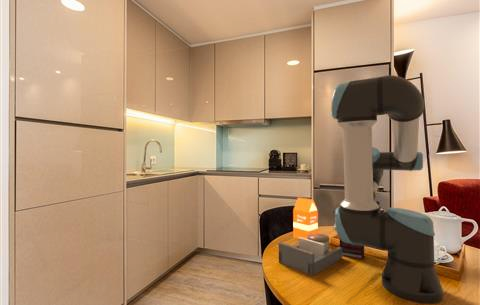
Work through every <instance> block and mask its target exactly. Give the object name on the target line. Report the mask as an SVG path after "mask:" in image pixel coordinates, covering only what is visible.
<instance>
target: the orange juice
mask: <svg viewBox="0 0 480 305" xmlns="http://www.w3.org/2000/svg"><path fill="white" fill-rule="evenodd" d="M292 214H293V215H292V216H293V219H292V220H293V223H292V226H293V232H292V233H293V235H292V236H293V237H292V238H293V239H297V240H298V238H299V237H302V238H305V239H307V235H308V234H312V233H318V234H319V229H318V228H319V222H318V221H319V212H318V208H317V205H316V203H315V201H314V199H312V198H311V199H310V198H304V197H297V200H296V202H295V205H294V207H293V210H292Z"/></svg>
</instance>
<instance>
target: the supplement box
mask: <svg viewBox="0 0 480 305" xmlns="http://www.w3.org/2000/svg"><path fill="white" fill-rule="evenodd" d="M339 247H341V248H342V257H349V258H353V259H359V260H364V258H365V246H360V245H353V244H350V243H346V242H343V241H341V240H340V239H339Z"/></svg>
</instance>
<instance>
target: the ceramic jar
mask: <svg viewBox="0 0 480 305" xmlns="http://www.w3.org/2000/svg"><path fill="white" fill-rule="evenodd" d="M307 239H309V240H312V241H316V242H319V243H323V244H324V246H325V253H327V252H329V251H330V236H329V235H327V234H323V233H319V232H318V233H312V234H308V235H307Z"/></svg>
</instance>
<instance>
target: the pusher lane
mask: <svg viewBox="0 0 480 305" xmlns="http://www.w3.org/2000/svg"><path fill="white" fill-rule="evenodd" d="M342 259H343V255H342V248H341V247H340V246H338V247H336V248H334V249H332V250H329V252H327V253H325V254H323V255H321V256H319V257H317V258H315V259H314V253H312V252H309V251H306V250H303V249H300V248H299V244H298V243H296V244H294V245H290V244H287V243H284V242H278V263H279V264H281V265H283V266H284V265H285V266H287V267H289V268H291V269H294V270H296V271H299V272H301V273H303V274H306V275H308V276H311V277H313V276H315V275H316V274H318V273H320V272H322V271H323V270H326V269H327V268H329V267H330V266H332V265H333V264H335V263H337V262H339V261H340V260H342Z"/></svg>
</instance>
